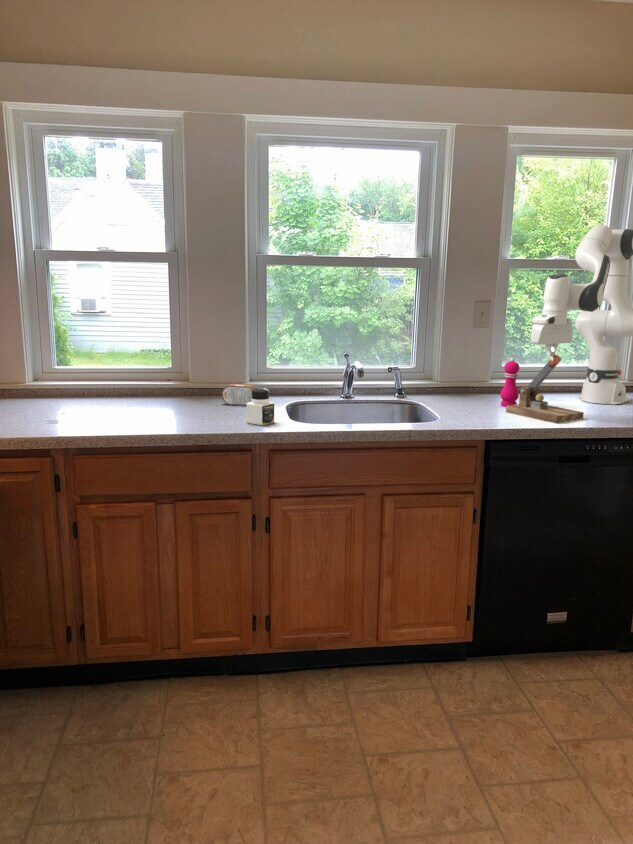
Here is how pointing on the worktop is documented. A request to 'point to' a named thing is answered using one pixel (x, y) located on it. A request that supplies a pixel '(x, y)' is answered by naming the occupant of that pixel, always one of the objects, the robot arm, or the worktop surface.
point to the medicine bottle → (260, 408)
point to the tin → (237, 394)
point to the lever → (544, 373)
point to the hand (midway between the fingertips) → (550, 355)
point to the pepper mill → (510, 384)
